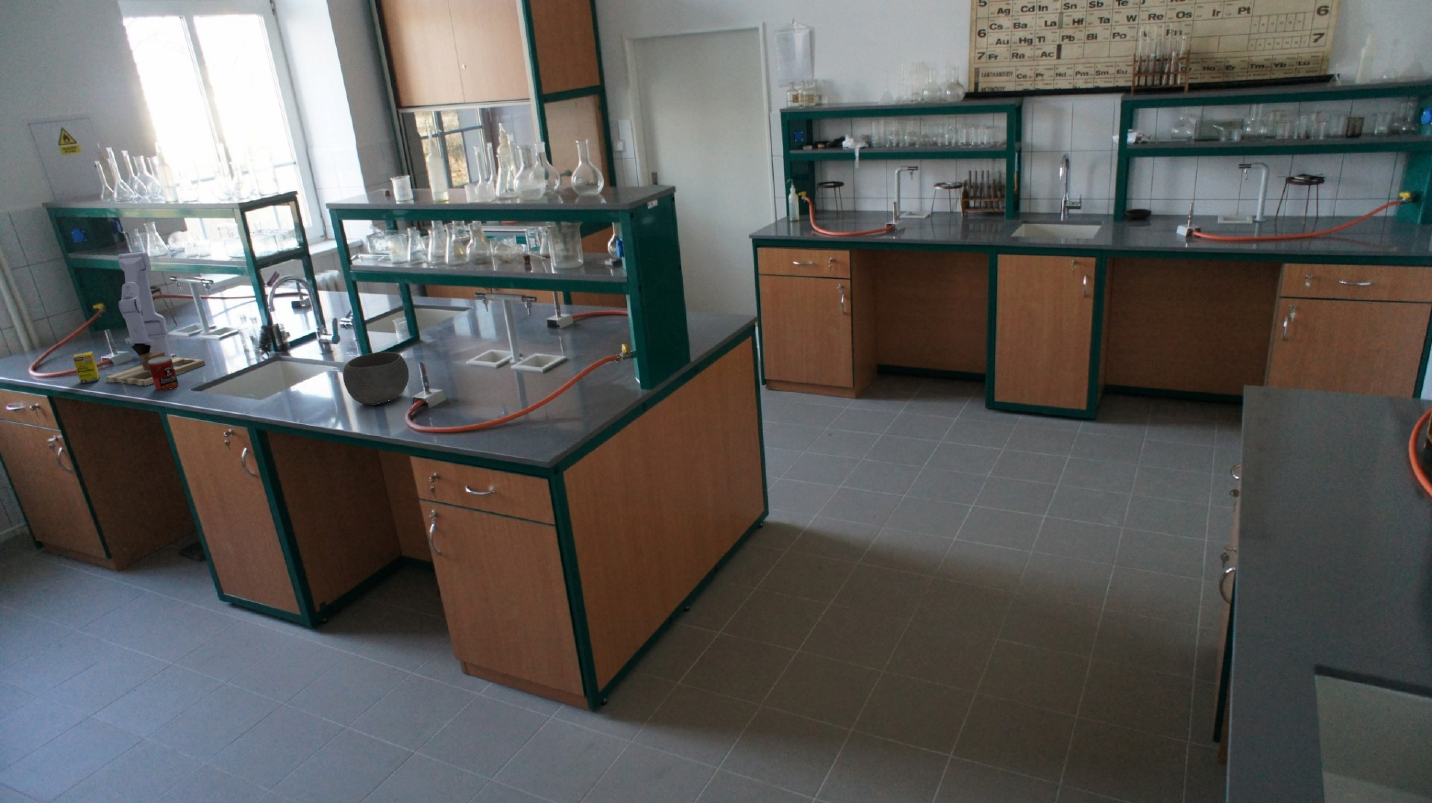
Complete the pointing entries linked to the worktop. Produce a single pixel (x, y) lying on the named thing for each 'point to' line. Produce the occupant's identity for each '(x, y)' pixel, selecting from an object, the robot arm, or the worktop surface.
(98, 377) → the supplement box
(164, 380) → the canned food
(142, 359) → the walnut block
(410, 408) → the worktop surface
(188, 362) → the trap deck
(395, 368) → the bowl
